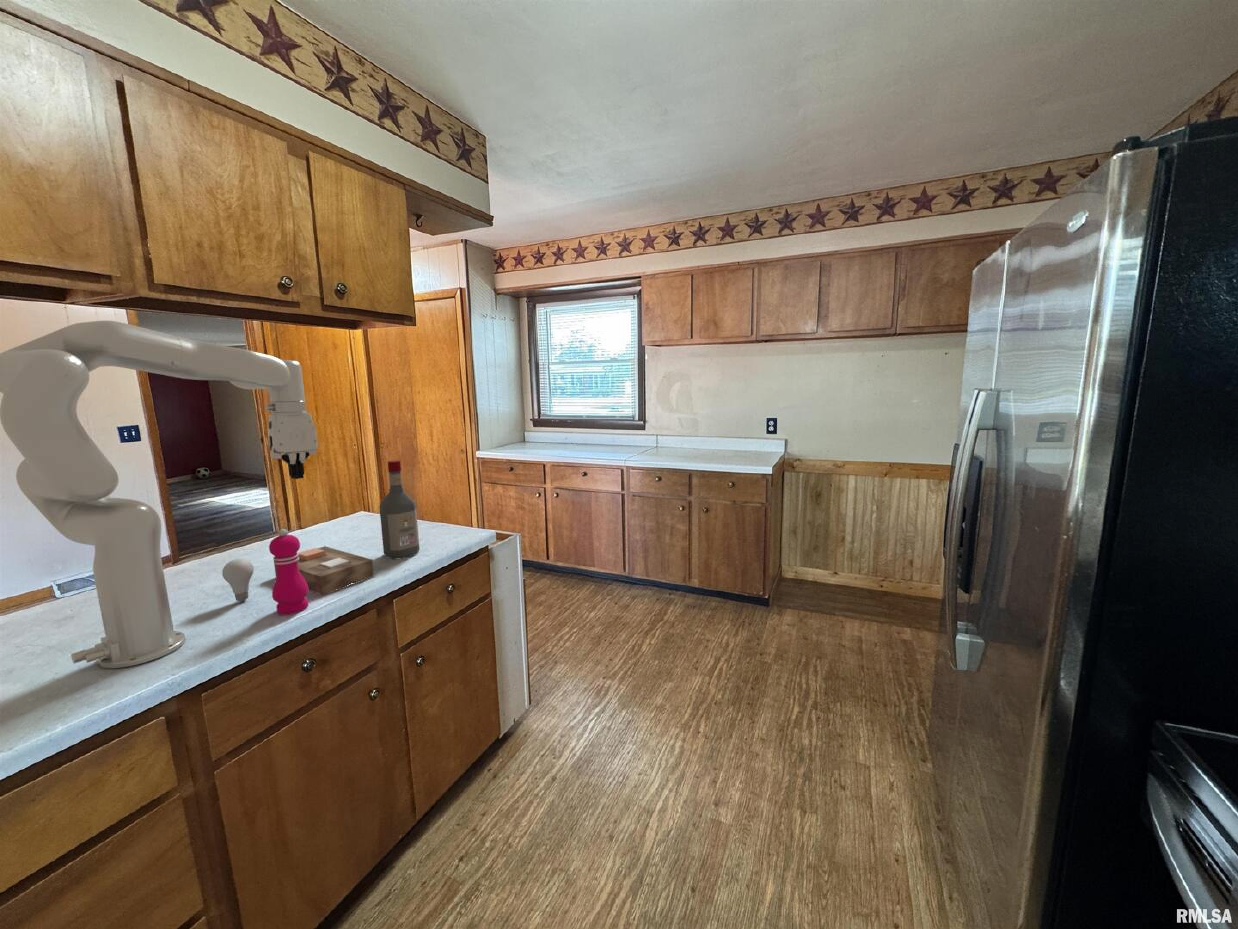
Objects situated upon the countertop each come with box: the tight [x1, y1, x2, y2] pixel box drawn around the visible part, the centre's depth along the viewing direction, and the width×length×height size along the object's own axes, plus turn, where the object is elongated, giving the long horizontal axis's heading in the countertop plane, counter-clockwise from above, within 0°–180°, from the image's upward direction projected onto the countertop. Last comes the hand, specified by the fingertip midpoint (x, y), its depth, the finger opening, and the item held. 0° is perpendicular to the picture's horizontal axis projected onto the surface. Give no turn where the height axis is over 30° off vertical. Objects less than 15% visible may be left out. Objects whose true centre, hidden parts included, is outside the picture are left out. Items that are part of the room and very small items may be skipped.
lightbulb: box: [221, 558, 254, 603], centre depth 120 cm, size 6×6×11 cm
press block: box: [273, 545, 375, 596], centre depth 135 cm, size 14×24×5 cm, turn 59°
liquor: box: [378, 460, 421, 559], centre depth 152 cm, size 9×9×30 cm
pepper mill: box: [268, 528, 310, 616], centre depth 114 cm, size 7×7×20 cm
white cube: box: [320, 558, 349, 569], centre depth 132 cm, size 5×5×5 cm
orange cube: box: [297, 547, 325, 561], centre depth 138 cm, size 5×5×5 cm
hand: (297, 478), depth 128 cm, fingers closed
